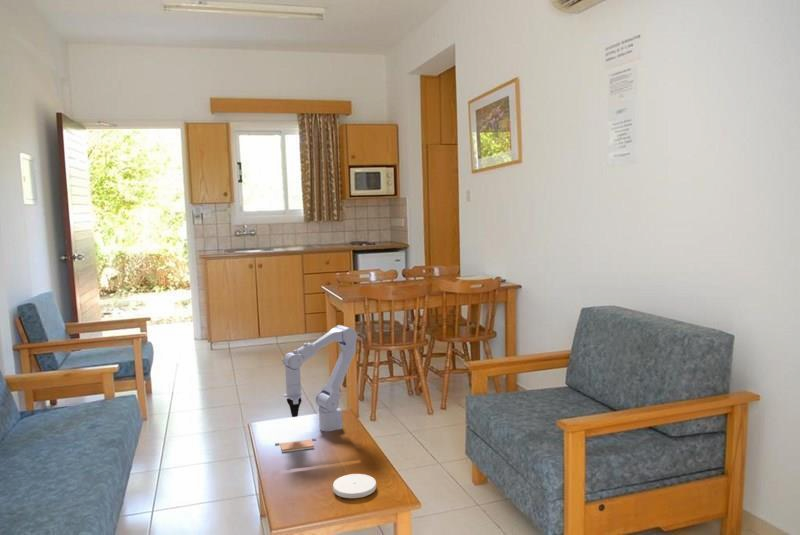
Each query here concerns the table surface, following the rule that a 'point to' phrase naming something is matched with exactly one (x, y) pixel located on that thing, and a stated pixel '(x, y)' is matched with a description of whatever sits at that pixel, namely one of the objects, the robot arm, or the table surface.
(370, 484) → the plastic lid
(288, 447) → the flap
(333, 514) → the table surface
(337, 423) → the robot arm
